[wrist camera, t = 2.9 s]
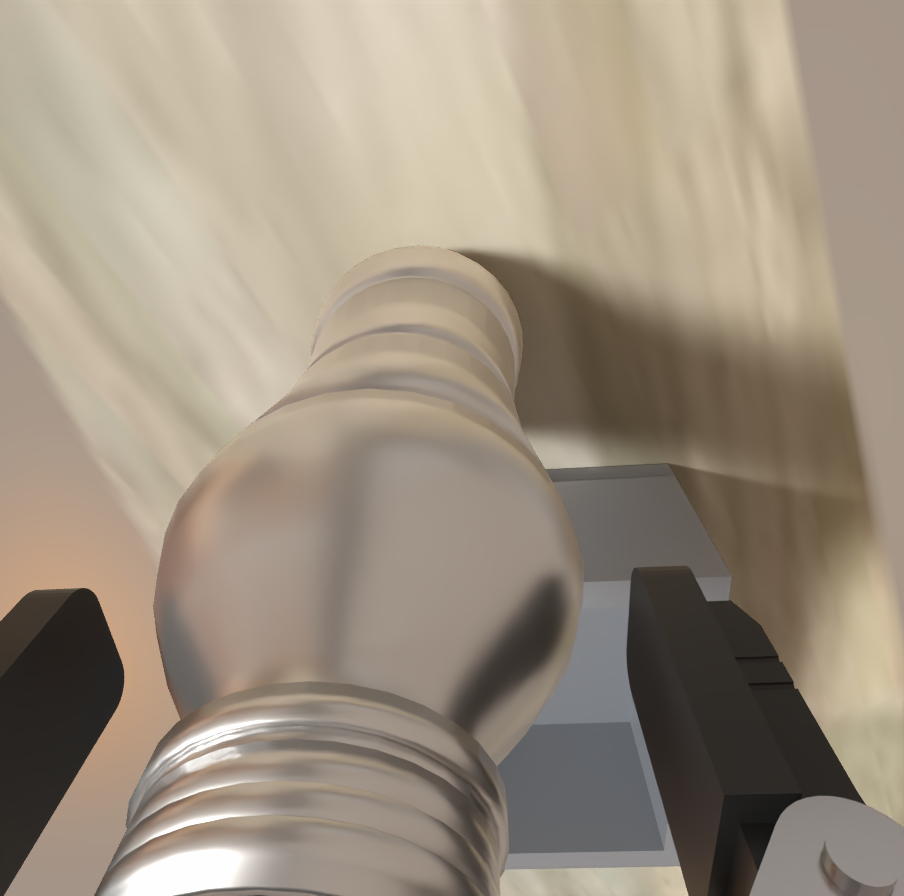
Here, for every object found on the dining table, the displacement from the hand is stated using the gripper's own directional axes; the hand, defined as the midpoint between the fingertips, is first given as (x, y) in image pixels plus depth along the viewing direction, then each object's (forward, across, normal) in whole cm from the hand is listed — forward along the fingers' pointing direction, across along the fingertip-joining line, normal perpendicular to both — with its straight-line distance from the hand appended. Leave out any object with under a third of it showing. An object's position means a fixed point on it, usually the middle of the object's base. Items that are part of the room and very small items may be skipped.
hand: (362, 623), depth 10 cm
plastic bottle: (+15, 0, 0) cm, 15 cm away
